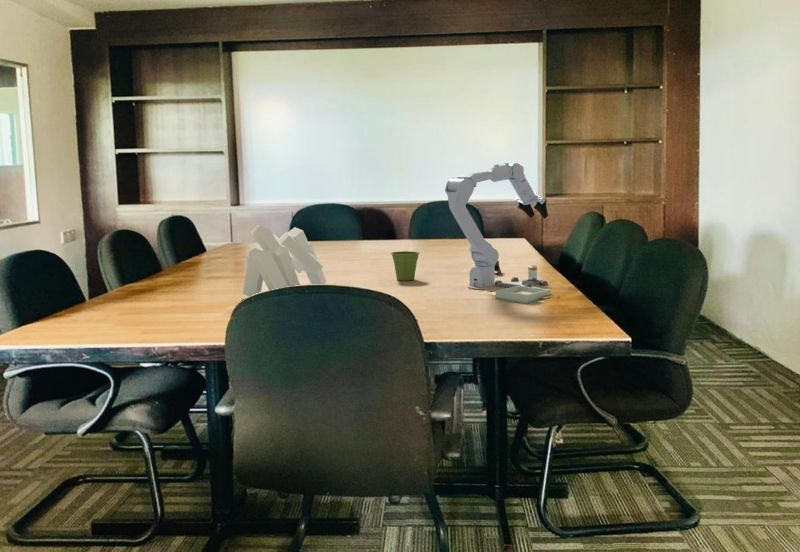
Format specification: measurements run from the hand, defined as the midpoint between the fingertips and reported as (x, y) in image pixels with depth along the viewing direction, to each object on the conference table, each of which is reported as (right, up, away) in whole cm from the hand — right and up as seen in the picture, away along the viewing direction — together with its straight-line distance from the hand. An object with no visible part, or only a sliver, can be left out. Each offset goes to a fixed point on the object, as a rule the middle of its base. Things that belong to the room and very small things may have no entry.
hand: (539, 216), depth 292 cm
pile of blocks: (-97, -31, -19) cm, 104 cm away
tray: (-12, -31, -32) cm, 47 cm away
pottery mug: (-16, -23, +26) cm, 38 cm away
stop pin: (-5, -27, -13) cm, 30 cm away
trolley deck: (-9, -28, -12) cm, 32 cm away
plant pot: (-52, -25, +14) cm, 60 cm away
